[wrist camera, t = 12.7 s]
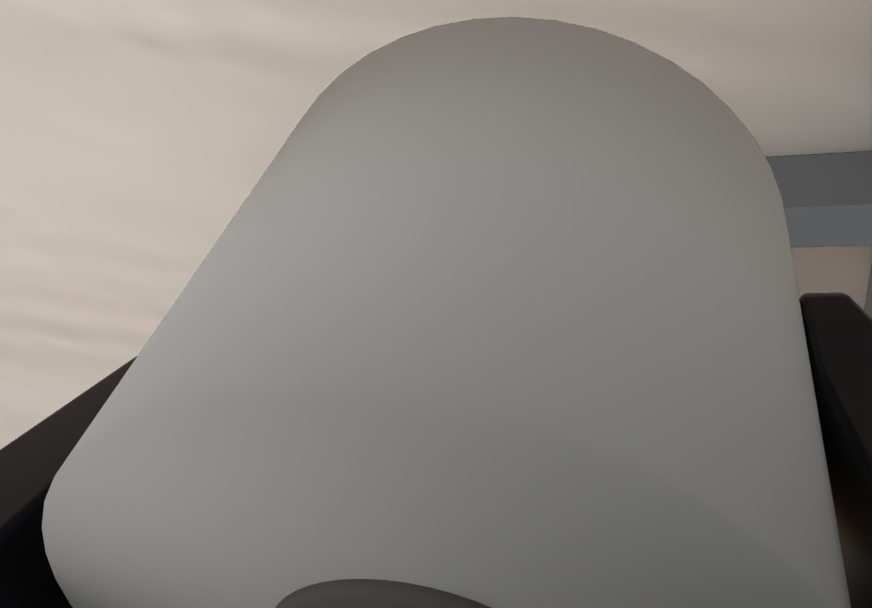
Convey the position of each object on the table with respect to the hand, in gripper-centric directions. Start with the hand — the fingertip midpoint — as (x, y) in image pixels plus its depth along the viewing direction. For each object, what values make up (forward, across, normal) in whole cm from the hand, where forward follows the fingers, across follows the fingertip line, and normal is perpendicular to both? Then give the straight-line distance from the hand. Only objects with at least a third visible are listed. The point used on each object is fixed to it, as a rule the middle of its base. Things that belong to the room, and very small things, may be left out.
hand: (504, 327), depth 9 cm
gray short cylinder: (+1, 0, 0) cm, 1 cm away
